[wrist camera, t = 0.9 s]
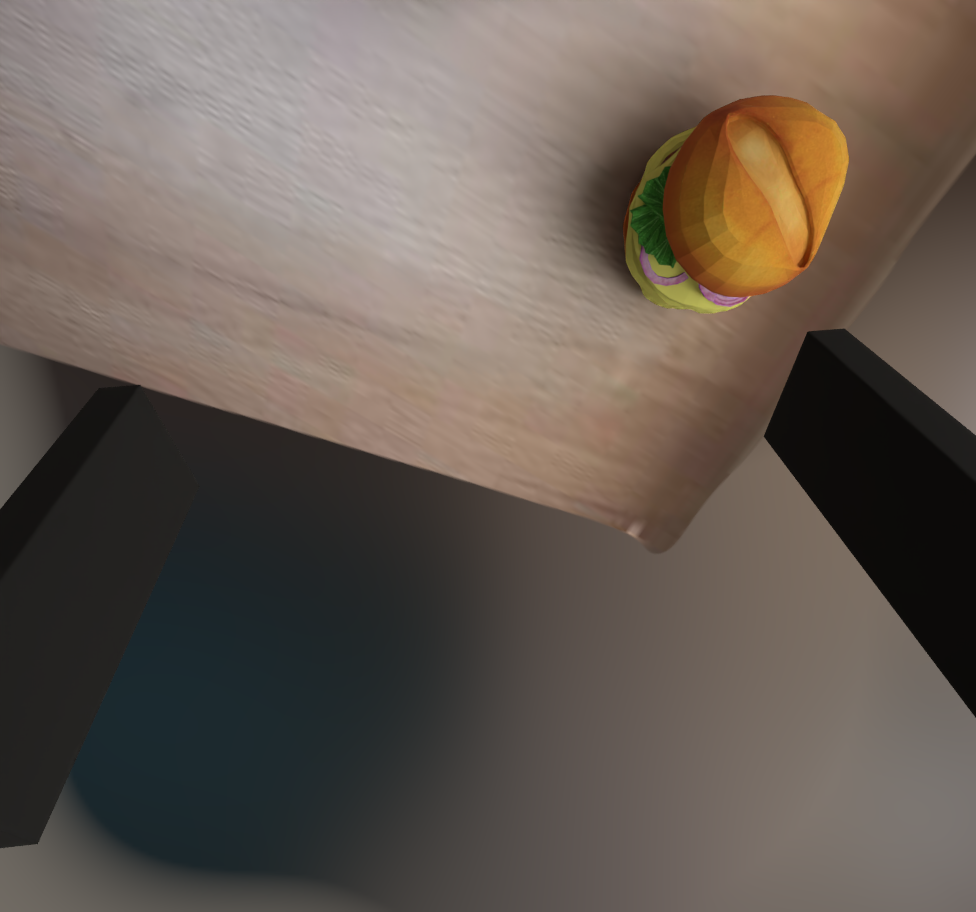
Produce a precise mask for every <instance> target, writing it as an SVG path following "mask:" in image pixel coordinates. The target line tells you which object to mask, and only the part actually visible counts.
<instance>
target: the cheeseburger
mask: <svg viewBox="0 0 976 912" xmlns="http://www.w3.org/2000/svg"><path fill="white" fill-rule="evenodd" d="M848 162H849V156H848V150H847V144H846V138H845V136H844V135H843V133H842V132H841V130H840V129H839V127H838V125H837V124H836V122H835V121H834V120H832V119H831V118H829V117H827V116H825V115H824V114H822V113H821V112H819V111H818V110H816V109H815V108H814V107H812V106H811V105H809V104H808V103H807V102H803V101H800V100H797V99H793V98H789V97H782V96H774V95H770V96H757V97H751V98H745V99H739V100H737V101H735V102H732V103H730V104H728V105H726V106H723V107H721V108H719V109H717V110H715V111H713V112H711V113H710V114H708V115H707V116H705V117H704V118H703V119H702V120H701V122H700V123H699V124H698V125H697V127H694V128H692V129H689V130H686V131H684V132H682V133H680V134H678V135H676V136H673V137H671V138H670V139H669V140H668V141H667V142H666V143H665V144H663V145H662V146H661V147H660V148H659V149H658V150H657V151H656V153H655V154H654V155H653V156H652V157H651V158H650V160H649V161H648V162H647V165H646V169H645V172H644V175H643V177H642V179H641V180H640V182H639V183H638V184H637V186H636V187H635V189H634V190H633V192H632V193H631V197H630V201H629V204H628V208H627V212H626V215H625V219H624V223H623V235H624V248H625V257H626V263H627V266H628V268H629V270H630V272H631V275H632V276H633V277H634V279H635V280H636V281H637V282H638V284H639V285H640V287H641V290H642V293H643V295H644V296H645V297H646V298H647V299H648V300H650V301H651V302H653V303H654V304H656V305H658V306H662V307H665V308H675V309H691V310H694V311H696V312H698V313H716V312H720V311H728V310H730V309H733V308H735V307H738V306H740V305H741V304H742V303H744V302H745V301H746V300H747V299H748V298H749V297H750V296H754V295H759V294H765V293H767V292H770V291H772V290H774V289H777V288H779V287H781V286H783V285H785V284H787V283H788V282H789V281H791V280H792V279H793V278H795V277H796V276H797V275H798V274H800V273H801V272H802V271H804V270H805V269H806V268H807V267H808V266H809V264H810V263H811V261H812V260H813V258H814V256H815V254H816V252H817V250H818V248H819V245H820V243H821V241H822V238H823V236H824V234H825V231H826V229H827V226H828V223H829V221H830V218H831V216H832V213H833V210H834V208H835V206H836V203H837V201H838V198H839V196H840V193H841V191H842V188H843V186H844V181H845V177H846V172H847V167H848Z"/></svg>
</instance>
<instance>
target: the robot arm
mask: <svg viewBox="0 0 976 912" xmlns="http://www.w3.org/2000/svg"><path fill="white" fill-rule="evenodd" d="M764 437H765V439H766V440H767V441H768V443H769V444H770V445H771V447H772V448H773V449H774V451H775V452H776V453H777V455H778V456H779V457H780V459H781V460H782V461H783V463H784V464H785V465H786V467H787V468H788V469H789V471H790V472H791V473H792V474H793V476H794V477H795V479H796V480H797V481H798V482H799V484H800V485H801V487H802V488H803V489H804V490H805V492H806V493H807V494H808V496H809V497H810V498H811V500H812V501H813V502H814V504H815V505H816V506H817V508H818V509H819V510H820V512H821V513H822V514H823V516H824V517H825V518H826V520H827V521H828V522H829V524H830V525H831V526H832V528H833V529H834V530H835V531H836V533H837V534H838V535H839V537H840V538H841V540H842V541H843V542H844V544H845V545H846V546H847V547H848V549H849V550H850V551H851V553H852V554H853V555H854V557H855V558H856V559H857V561H858V562H859V563H860V565H861V566H862V567H863V569H864V570H865V571H866V573H867V574H868V575H869V577H870V578H871V579H872V580H873V582H874V583H875V585H876V586H877V587H878V589H879V590H880V591H881V593H882V594H883V595H884V596H885V598H886V599H887V601H888V602H889V603H890V605H891V606H892V607H893V609H894V610H895V611H896V613H897V614H898V615H899V616H900V618H901V619H902V620H903V622H904V623H905V624H906V626H907V627H908V628H909V630H910V631H911V632H912V634H913V635H914V636H915V638H916V639H917V640H918V642H919V643H920V644H921V646H922V647H923V648H924V650H925V651H926V652H927V654H928V655H929V656H930V657H931V659H932V660H933V661H934V663H935V664H936V666H937V667H938V668H939V669H940V671H941V672H942V674H943V675H944V676H945V677H946V679H947V680H948V681H949V683H950V684H951V685H952V687H953V688H954V689H955V691H956V692H957V693H958V695H959V696H960V697H961V699H962V700H963V701H964V703H965V704H966V705H967V707H968V708H969V709H970V711H971V712H972V713H973V714H974V716H975V717H976V435H974V434H973V433H972V432H971V431H970V430H968V429H967V428H966V427H965V426H963V425H962V424H961V423H960V422H958V421H957V420H956V419H955V418H953V417H952V416H951V415H950V414H949V413H947V412H946V411H945V410H944V409H942V408H941V407H940V406H939V405H938V404H936V403H935V402H934V401H933V400H931V399H930V398H929V397H928V396H927V395H925V394H924V393H923V392H922V391H920V390H919V389H918V388H917V387H916V386H914V385H913V384H912V383H911V382H909V381H908V380H907V379H905V378H904V377H903V376H902V375H901V374H900V373H898V372H897V371H896V370H895V369H893V368H892V367H891V366H890V365H888V364H887V363H886V362H885V361H884V360H882V359H881V358H880V357H878V356H877V355H876V354H875V353H874V352H873V351H871V350H870V349H869V348H868V347H866V346H865V345H864V344H863V343H861V342H860V341H859V340H858V339H857V338H855V337H854V336H853V335H852V334H850V333H849V332H848V331H847V330H845V329H834V330H822V331H809V332H807V334H806V337H805V339H804V342H803V344H802V346H801V349H800V351H799V353H798V356H797V358H796V361H795V363H794V365H793V368H792V370H791V373H790V375H789V377H788V380H787V382H786V384H785V387H784V389H783V392H782V394H781V396H780V399H779V401H778V404H777V406H776V408H775V411H774V413H773V415H772V418H771V420H770V423H769V425H768V427H767V430H766V432H765V435H764ZM198 488H199V484H198V483H197V481H196V479H195V478H194V476H193V474H192V472H191V471H190V469H189V468H188V466H187V464H186V462H185V461H184V459H183V457H182V455H181V454H180V452H179V450H178V449H177V447H176V445H175V443H174V442H173V440H172V438H171V437H170V435H169V433H168V431H167V430H166V428H165V426H164V425H163V423H162V421H161V420H160V418H159V416H158V414H157V413H156V411H155V410H154V408H153V406H152V404H151V402H150V401H149V399H148V397H147V396H146V394H145V392H144V391H143V389H142V387H141V385H132V386H120V387H108V388H99V389H98V390H97V391H96V392H95V394H94V395H93V396H92V397H91V399H90V400H89V401H88V402H87V403H86V405H85V406H84V407H83V408H82V410H81V411H80V412H79V413H78V415H77V416H76V417H75V418H74V419H73V421H72V422H71V423H70V424H69V426H68V427H67V428H66V429H65V430H64V432H63V433H62V434H61V435H60V437H59V438H58V439H57V440H56V441H55V443H54V444H53V445H52V446H51V448H50V449H49V450H48V451H47V453H46V454H45V455H44V456H43V457H42V459H41V460H40V461H39V463H38V464H37V465H36V466H35V467H34V468H33V470H32V471H31V472H30V474H29V475H28V476H27V477H26V478H25V480H24V481H23V482H22V483H21V485H20V486H19V487H18V488H17V489H16V491H15V492H14V493H13V494H12V495H11V497H10V498H9V499H8V500H7V502H6V503H5V504H4V506H3V507H2V508H1V509H0V848H5V847H14V846H23V845H31V844H38V842H39V840H40V837H41V835H42V833H43V831H44V829H45V826H46V824H47V822H48V820H49V818H50V815H51V813H52V811H53V809H54V806H55V804H56V802H57V800H58V798H59V795H60V793H61V791H62V789H63V786H64V784H65V782H66V780H67V778H68V776H69V773H70V771H71V769H72V767H73V765H74V762H75V760H76V758H77V755H78V754H79V751H80V749H81V747H82V745H83V742H84V740H85V738H86V736H87V734H88V731H89V729H90V727H91V725H92V723H93V720H94V718H95V716H96V714H97V712H98V709H99V707H100V705H101V703H102V700H103V698H104V696H105V694H106V692H107V689H108V687H109V685H110V682H111V680H112V678H113V676H114V674H115V671H116V670H117V667H118V665H119V663H120V661H121V658H122V656H123V654H124V652H125V650H126V647H127V645H128V643H129V641H130V639H131V636H132V634H133V632H134V630H135V628H136V625H137V623H138V621H139V619H140V617H141V614H142V612H143V610H144V608H145V606H146V603H147V601H148V599H149V597H150V594H151V592H152V590H153V588H154V585H155V583H156V581H157V579H158V577H159V574H160V572H161V570H162V568H163V566H164V564H165V561H166V559H167V557H168V555H169V552H170V550H171V548H172V546H173V544H174V541H175V539H176V537H177V534H178V533H179V530H180V528H181V526H182V524H183V522H184V519H185V517H186V515H187V513H188V510H189V508H190V506H191V504H192V502H193V499H194V497H195V495H196V493H197V491H198Z"/></svg>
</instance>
